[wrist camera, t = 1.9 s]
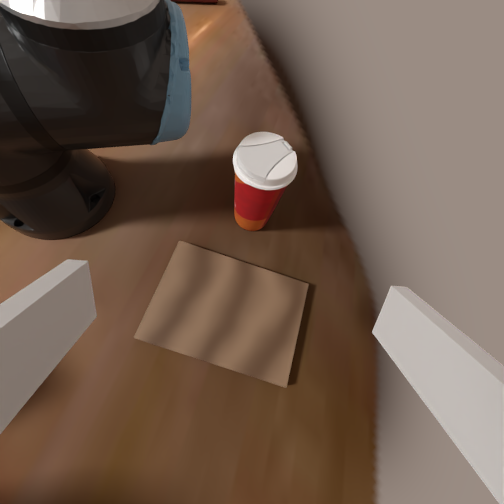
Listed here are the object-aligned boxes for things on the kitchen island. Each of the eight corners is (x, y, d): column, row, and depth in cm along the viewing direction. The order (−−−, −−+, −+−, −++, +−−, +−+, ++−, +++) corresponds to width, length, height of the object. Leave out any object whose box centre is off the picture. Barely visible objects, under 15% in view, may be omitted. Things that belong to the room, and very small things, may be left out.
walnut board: (137, 338, 31) (133, 337, 29) (180, 244, 36) (179, 240, 35) (283, 385, 31) (286, 387, 30) (305, 286, 36) (308, 283, 35)
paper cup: (256, 189, 42) (274, 120, 29) (282, 223, 40) (314, 165, 27) (218, 209, 39) (218, 143, 26) (244, 246, 37) (259, 194, 25)
